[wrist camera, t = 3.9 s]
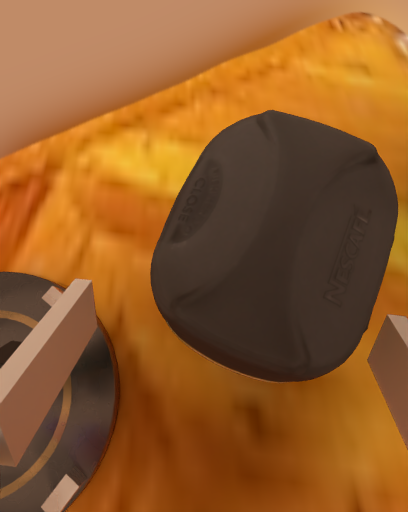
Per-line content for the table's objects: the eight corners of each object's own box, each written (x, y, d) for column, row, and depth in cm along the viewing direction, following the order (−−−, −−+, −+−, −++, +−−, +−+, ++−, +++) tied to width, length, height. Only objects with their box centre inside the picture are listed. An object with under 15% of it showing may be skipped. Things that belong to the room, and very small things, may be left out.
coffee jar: (217, 235, 29) (225, 57, 11) (301, 268, 28) (456, 131, 10) (172, 336, 27) (93, 315, 9) (262, 376, 26) (374, 443, 8)
